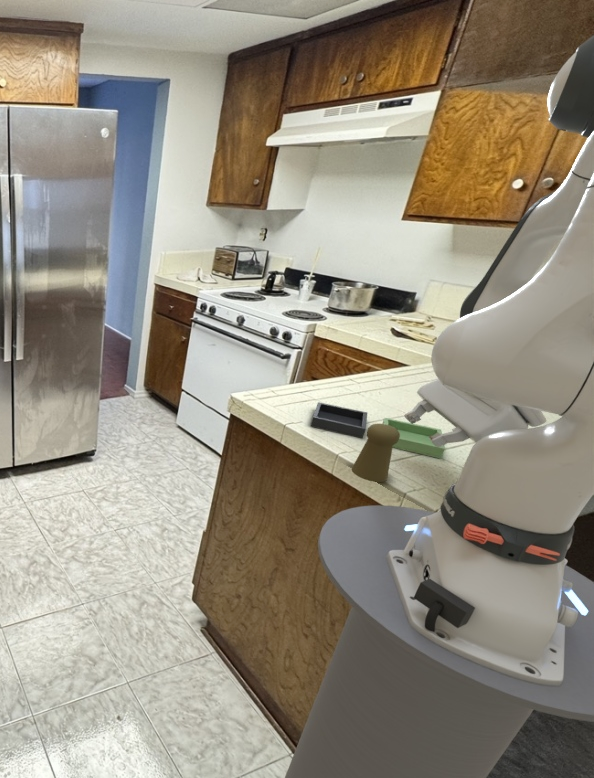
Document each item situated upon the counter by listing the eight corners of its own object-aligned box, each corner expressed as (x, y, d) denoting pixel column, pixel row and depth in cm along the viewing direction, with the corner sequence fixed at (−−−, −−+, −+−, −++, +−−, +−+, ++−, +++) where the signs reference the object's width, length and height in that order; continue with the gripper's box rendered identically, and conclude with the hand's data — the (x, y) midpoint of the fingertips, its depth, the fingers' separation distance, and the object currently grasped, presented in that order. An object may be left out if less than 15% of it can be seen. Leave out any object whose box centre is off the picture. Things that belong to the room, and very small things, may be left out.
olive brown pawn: (379, 467, 99) (396, 421, 94) (392, 484, 93) (411, 436, 89) (346, 463, 100) (362, 418, 96) (357, 479, 95) (374, 432, 90)
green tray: (440, 458, 101) (445, 448, 100) (380, 444, 107) (383, 434, 106) (437, 438, 109) (441, 429, 108) (381, 426, 115) (384, 417, 114)
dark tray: (362, 438, 110) (365, 429, 109) (310, 426, 116) (313, 417, 115) (364, 421, 117) (367, 412, 116) (315, 410, 123) (318, 402, 122)
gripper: (457, 357, 93) (385, 397, 100) (532, 400, 75) (438, 445, 82) (476, 380, 94) (403, 418, 100) (554, 427, 76) (459, 470, 82)
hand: (419, 430), depth 91 cm, fingers open, 8 cm apart
